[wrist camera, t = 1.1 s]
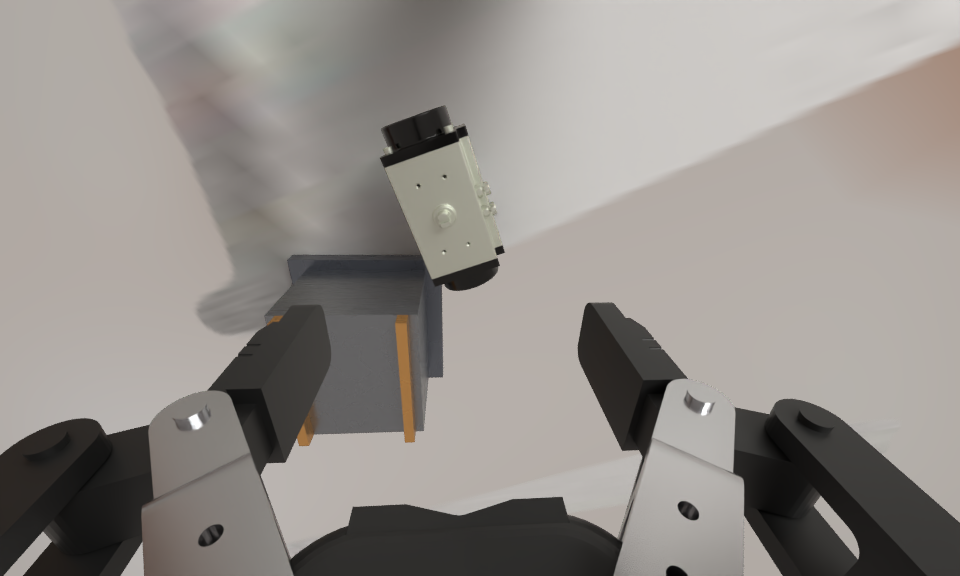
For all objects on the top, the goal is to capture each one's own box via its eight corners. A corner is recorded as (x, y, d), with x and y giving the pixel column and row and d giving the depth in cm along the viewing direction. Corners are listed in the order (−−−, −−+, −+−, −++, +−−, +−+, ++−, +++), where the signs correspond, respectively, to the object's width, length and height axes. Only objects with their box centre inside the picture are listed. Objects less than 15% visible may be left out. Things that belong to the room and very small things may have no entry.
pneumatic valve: (444, 250, 35) (441, 312, 24) (395, 124, 30) (364, 133, 19) (499, 232, 35) (520, 287, 24) (458, 101, 30) (462, 97, 19)
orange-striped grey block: (292, 255, 34) (229, 312, 25) (441, 255, 35) (437, 310, 26) (319, 382, 41) (278, 466, 31) (443, 379, 42) (440, 460, 33)
